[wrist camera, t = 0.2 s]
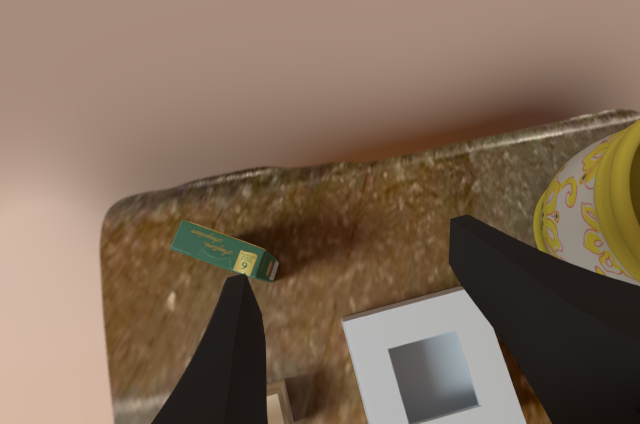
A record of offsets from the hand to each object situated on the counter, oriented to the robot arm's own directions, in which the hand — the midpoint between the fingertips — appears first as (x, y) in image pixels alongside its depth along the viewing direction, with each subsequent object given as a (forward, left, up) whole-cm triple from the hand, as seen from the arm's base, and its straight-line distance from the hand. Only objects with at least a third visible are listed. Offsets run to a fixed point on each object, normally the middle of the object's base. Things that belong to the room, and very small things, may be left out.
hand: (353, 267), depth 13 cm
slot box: (-11, -7, -31) cm, 33 cm away
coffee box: (+5, +9, -31) cm, 33 cm away
